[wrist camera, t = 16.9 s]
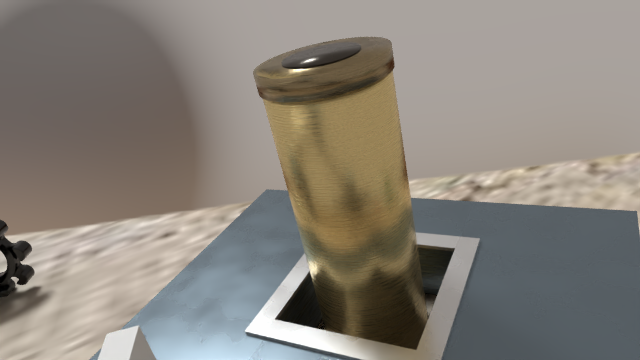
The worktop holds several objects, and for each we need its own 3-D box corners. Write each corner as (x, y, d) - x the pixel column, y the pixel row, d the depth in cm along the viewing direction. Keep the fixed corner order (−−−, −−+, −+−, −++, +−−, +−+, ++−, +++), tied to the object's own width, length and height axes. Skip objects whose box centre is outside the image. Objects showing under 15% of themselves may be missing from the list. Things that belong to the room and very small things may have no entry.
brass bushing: (309, 361, 23) (224, 81, 17) (351, 290, 27) (294, 42, 21) (413, 388, 21) (358, 70, 14) (443, 306, 25) (409, 28, 18)
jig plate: (110, 408, 23) (81, 362, 22) (277, 224, 35) (265, 187, 34) (663, 633, 13) (678, 571, 11) (631, 260, 25) (637, 207, 23)
